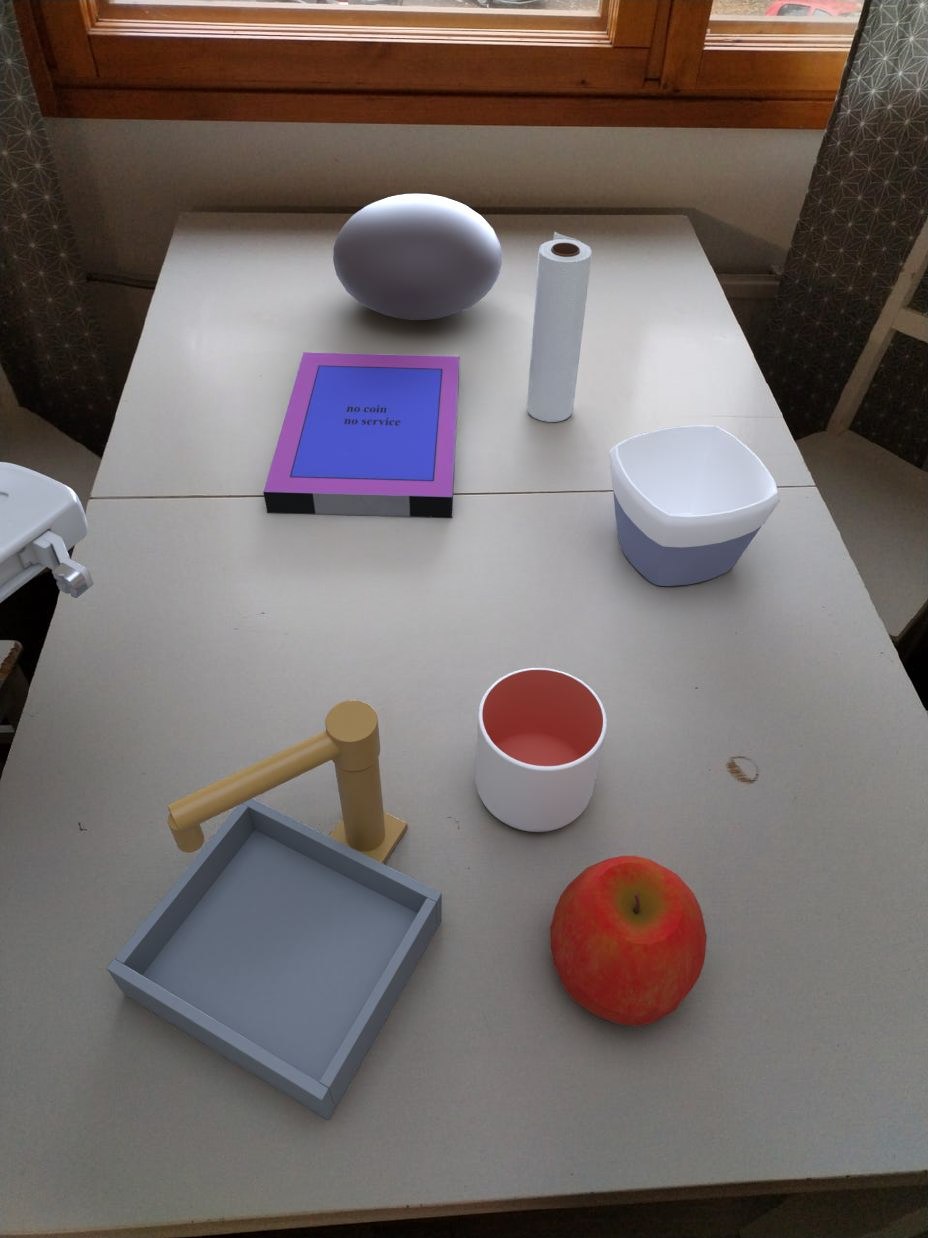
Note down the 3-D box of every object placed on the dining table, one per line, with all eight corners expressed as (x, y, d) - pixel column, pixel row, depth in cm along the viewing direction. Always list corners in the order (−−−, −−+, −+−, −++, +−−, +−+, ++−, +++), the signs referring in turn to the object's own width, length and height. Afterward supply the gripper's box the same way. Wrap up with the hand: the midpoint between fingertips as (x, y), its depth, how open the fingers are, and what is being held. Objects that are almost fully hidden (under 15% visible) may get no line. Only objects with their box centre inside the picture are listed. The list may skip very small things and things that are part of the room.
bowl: (701, 495, 105) (722, 413, 97) (772, 581, 95) (803, 499, 87) (581, 520, 101) (593, 438, 93) (642, 613, 91) (661, 530, 83)
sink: (328, 1121, 59) (321, 1100, 55) (122, 994, 64) (105, 968, 61) (442, 920, 68) (441, 893, 65) (254, 824, 74) (246, 794, 70)
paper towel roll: (562, 428, 113) (581, 264, 98) (519, 416, 115) (530, 253, 100) (582, 400, 118) (603, 239, 102) (540, 389, 120) (554, 229, 104)
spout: (187, 868, 59) (171, 831, 55) (168, 827, 61) (152, 789, 57) (390, 766, 64) (387, 727, 61) (366, 731, 66) (362, 692, 63)
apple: (675, 893, 70) (704, 821, 62) (707, 1037, 63) (744, 977, 55) (539, 897, 70) (550, 826, 62) (555, 1043, 62) (570, 983, 54)
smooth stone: (335, 349, 126) (325, 244, 115) (338, 269, 143) (329, 171, 132) (508, 344, 128) (514, 240, 117) (491, 265, 145) (494, 168, 134)
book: (263, 491, 99) (303, 351, 120) (267, 512, 101) (305, 371, 122) (452, 497, 99) (459, 356, 119) (452, 517, 101) (459, 376, 122)
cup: (609, 767, 78) (625, 695, 71) (563, 858, 72) (577, 790, 65) (506, 723, 81) (512, 650, 74) (454, 807, 75) (455, 737, 68)
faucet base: (376, 877, 71) (366, 794, 62) (323, 850, 72) (306, 765, 63) (408, 827, 74) (403, 742, 65) (356, 803, 75) (345, 716, 66)
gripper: (-308, 612, 51) (-146, 718, 47) (-17, 431, 63) (131, 502, 59) (-248, 679, 56) (-97, 780, 52) (12, 498, 68) (150, 569, 64)
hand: (27, 630), depth 56 cm, fingers open, 8 cm apart
